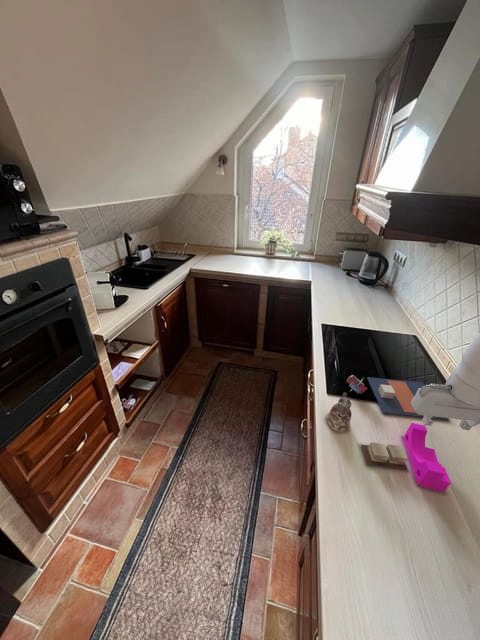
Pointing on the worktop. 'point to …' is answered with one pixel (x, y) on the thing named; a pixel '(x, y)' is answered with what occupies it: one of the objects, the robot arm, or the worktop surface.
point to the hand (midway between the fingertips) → (444, 425)
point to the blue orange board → (396, 396)
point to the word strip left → (385, 456)
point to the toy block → (424, 460)
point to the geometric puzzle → (356, 384)
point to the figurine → (340, 414)
